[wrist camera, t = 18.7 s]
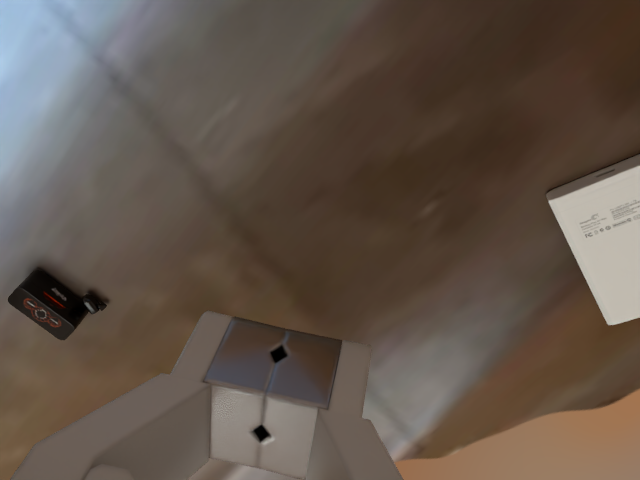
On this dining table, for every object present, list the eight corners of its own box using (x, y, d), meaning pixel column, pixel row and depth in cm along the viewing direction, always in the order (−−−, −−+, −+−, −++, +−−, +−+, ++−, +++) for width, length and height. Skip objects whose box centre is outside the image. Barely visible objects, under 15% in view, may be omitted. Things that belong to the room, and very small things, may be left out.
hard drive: (603, 313, 48) (544, 191, 43) (716, 279, 45) (666, 142, 40) (608, 327, 47) (547, 202, 42) (725, 292, 43) (673, 152, 38)
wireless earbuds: (86, 325, 59) (69, 347, 57) (26, 280, 58) (5, 300, 55) (110, 302, 57) (93, 324, 54) (47, 254, 55) (27, 274, 53)
